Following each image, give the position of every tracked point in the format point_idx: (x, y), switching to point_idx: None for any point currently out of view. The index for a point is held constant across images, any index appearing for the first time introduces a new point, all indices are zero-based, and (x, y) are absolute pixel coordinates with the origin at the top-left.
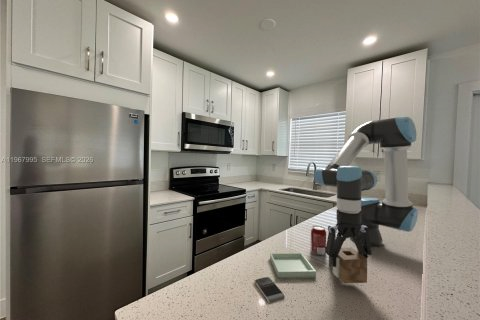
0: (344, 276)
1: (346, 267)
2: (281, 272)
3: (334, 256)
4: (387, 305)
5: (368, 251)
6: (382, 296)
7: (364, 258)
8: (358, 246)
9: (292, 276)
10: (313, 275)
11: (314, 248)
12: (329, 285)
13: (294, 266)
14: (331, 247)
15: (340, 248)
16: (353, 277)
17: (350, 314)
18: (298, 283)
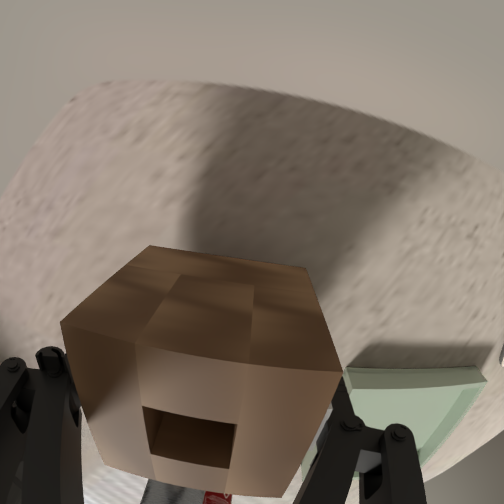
0: (306, 287)
1: (301, 319)
2: (479, 380)
3: (362, 426)
4: (142, 137)
5: (11, 382)
6: (115, 195)
7: (81, 336)
8: (66, 460)
9: (439, 373)
10: (359, 375)
11: None
12: (324, 313)
13: (380, 426)
14: (410, 494)
15: (306, 495)
16: (237, 272)
17: (372, 121)
18: (440, 339)
